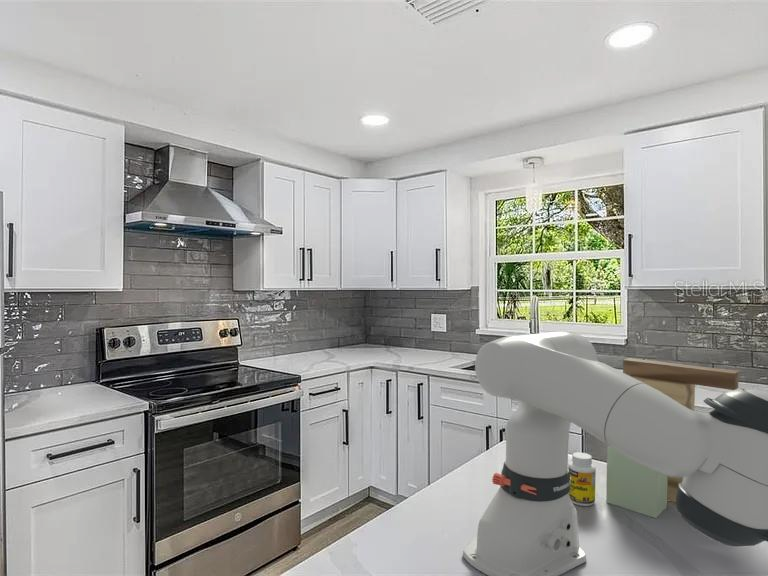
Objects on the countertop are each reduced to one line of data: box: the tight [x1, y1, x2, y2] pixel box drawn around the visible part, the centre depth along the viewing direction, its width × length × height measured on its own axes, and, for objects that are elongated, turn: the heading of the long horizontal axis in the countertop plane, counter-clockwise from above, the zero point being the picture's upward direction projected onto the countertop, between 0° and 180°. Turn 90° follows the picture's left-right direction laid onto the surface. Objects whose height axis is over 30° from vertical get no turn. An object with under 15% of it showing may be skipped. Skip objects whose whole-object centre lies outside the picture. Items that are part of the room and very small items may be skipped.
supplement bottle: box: [568, 451, 597, 507], centre depth 109 cm, size 6×6×10 cm
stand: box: [629, 375, 696, 504], centre depth 114 cm, size 8×12×26 cm, turn 44°
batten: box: [622, 357, 740, 391], centre depth 111 cm, size 4×22×4 cm, turn 44°
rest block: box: [605, 444, 668, 519], centre depth 107 cm, size 7×10×19 cm
